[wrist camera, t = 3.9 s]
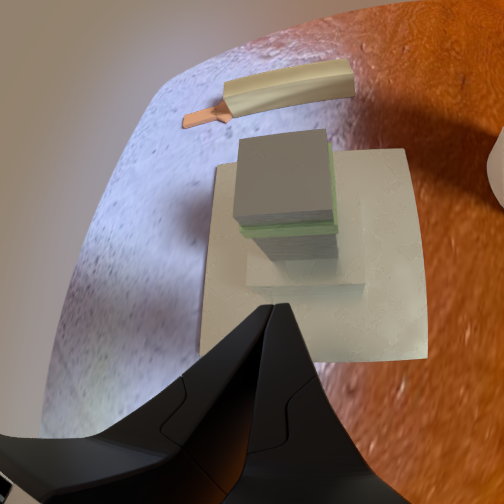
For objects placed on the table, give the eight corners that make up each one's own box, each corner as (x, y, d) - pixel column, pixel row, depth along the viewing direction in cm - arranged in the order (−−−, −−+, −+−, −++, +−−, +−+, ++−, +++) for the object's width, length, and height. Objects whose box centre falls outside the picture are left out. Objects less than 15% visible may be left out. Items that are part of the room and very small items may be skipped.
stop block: (355, 96, 25) (353, 73, 22) (234, 118, 28) (223, 98, 26) (349, 81, 26) (347, 58, 23) (234, 102, 29) (223, 82, 27)
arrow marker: (184, 135, 30) (181, 132, 29) (187, 112, 31) (185, 109, 30) (242, 119, 28) (241, 116, 28) (242, 97, 29) (240, 93, 29)
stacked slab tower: (423, 357, 18) (491, 361, 8) (205, 355, 22) (103, 350, 13) (402, 155, 23) (416, 50, 13) (221, 170, 27) (159, 87, 17)
